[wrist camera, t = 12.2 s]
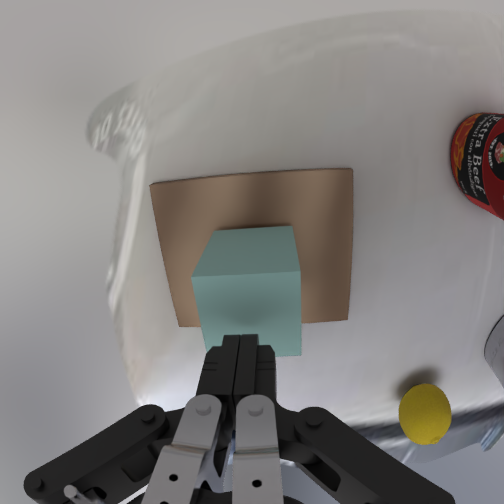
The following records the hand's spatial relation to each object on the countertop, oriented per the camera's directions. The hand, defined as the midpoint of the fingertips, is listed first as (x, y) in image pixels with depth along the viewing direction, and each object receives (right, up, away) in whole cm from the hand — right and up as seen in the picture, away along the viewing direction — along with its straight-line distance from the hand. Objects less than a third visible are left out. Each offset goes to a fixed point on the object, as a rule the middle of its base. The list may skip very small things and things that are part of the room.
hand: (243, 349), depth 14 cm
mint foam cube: (+1, +4, +8) cm, 9 cm away
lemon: (+18, -10, +15) cm, 26 cm away
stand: (+1, +4, +10) cm, 11 cm away
